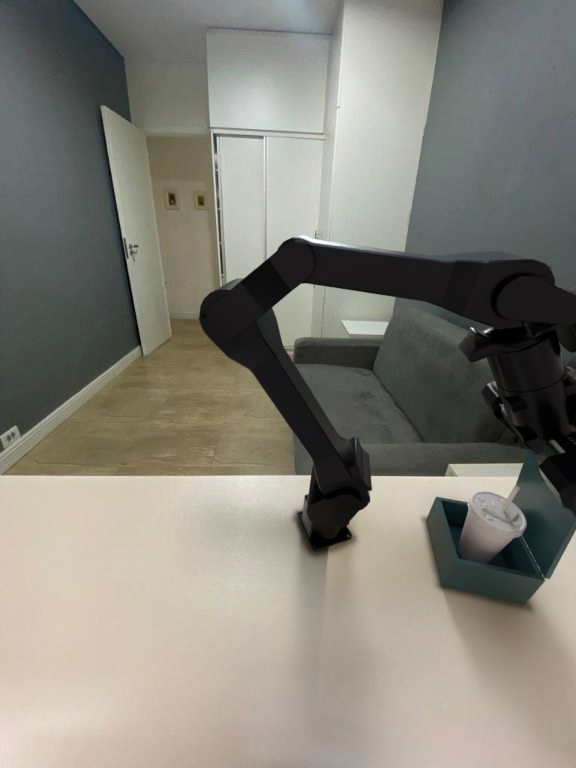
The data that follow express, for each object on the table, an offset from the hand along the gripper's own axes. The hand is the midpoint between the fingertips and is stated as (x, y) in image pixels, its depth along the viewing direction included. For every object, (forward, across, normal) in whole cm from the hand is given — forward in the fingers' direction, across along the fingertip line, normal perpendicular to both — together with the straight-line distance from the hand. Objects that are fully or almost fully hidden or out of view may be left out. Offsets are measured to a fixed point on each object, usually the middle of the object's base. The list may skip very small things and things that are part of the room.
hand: (561, 479), depth 36 cm
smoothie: (+10, -1, +13) cm, 17 cm away
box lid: (+3, -1, +4) cm, 5 cm away
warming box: (+10, -1, +14) cm, 17 cm away
